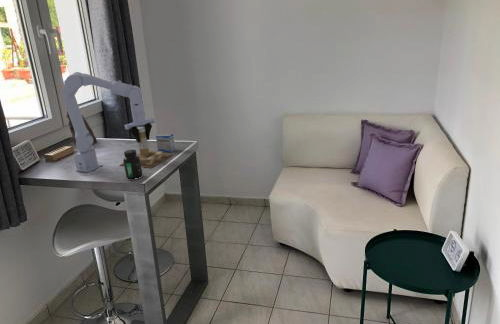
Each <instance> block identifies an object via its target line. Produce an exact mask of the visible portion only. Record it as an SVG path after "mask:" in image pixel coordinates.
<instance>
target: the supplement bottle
mask: <svg viewBox="0 0 500 324" xmlns="http://www.w3.org/2000/svg"><path fill="white" fill-rule="evenodd" d="M123 154H124V158H123V161H122V163H124V166H123V167H124V172H125V176H126V179H127V178H128V179H135V178H139V177H141V176H142V175H144V174H143V168H141V163H140V158H139V157H138V156H137V155H138V154H137V151H136V150H135V149H128V150H125V151H124V153H123ZM142 177H143V176H142ZM142 177H141V178H142ZM128 179H127V180H128Z"/></svg>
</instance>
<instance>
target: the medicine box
mask: <svg viewBox="0 0 500 324" xmlns="http://www.w3.org/2000/svg"><path fill="white" fill-rule="evenodd" d="M155 140H156V147H157V151H163V153H172V152H174V151H175V150H176V144H175V138H174V134H173V133H158V134H156V135H155Z"/></svg>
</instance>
